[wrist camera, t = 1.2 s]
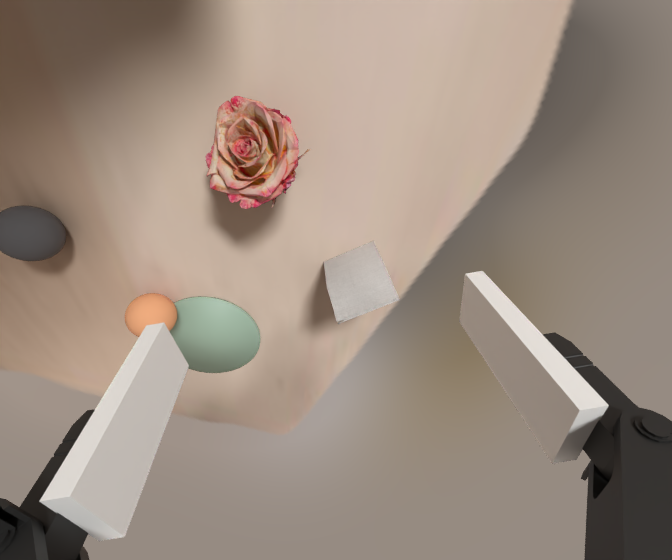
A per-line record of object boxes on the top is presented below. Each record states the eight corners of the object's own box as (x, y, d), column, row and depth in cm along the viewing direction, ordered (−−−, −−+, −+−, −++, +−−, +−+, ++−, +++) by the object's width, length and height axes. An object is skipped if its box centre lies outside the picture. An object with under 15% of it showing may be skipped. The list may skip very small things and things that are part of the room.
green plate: (133, 334, 43) (132, 335, 43) (203, 277, 39) (203, 278, 39) (214, 384, 49) (213, 385, 49) (280, 339, 46) (280, 340, 46)
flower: (334, 171, 32) (314, 134, 24) (273, 235, 33) (235, 220, 25) (272, 111, 33) (234, 58, 26) (215, 174, 35) (163, 142, 27)
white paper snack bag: (323, 261, 40) (329, 309, 31) (373, 240, 39) (393, 284, 30) (335, 283, 42) (343, 334, 33) (382, 264, 41) (404, 311, 32)
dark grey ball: (7, 220, 33) (-41, 242, 29) (35, 187, 32) (-10, 205, 27) (60, 255, 36) (24, 280, 31) (88, 226, 34) (55, 248, 30)
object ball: (127, 301, 40) (105, 329, 35) (155, 276, 38) (135, 303, 34) (164, 325, 42) (148, 355, 38) (192, 304, 41) (178, 332, 36)
